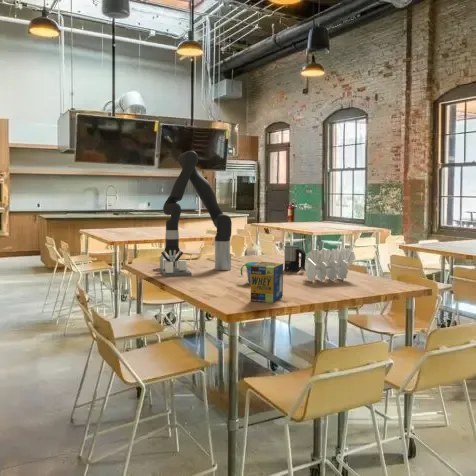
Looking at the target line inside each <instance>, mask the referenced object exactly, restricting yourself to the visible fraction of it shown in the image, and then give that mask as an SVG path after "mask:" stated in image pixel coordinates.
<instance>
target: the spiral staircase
mask: <svg viewBox="0 0 476 476" xmlns="http://www.w3.org/2000/svg"><path fill="white" fill-rule="evenodd" d="M307 253H308V254H307V255H306V260H305V270H304V271H305V275H306V278H307V279H308V280H309V281H310V282H311V281H315V280H316V277H317V278H318V279H319V280H320V281H321V280H322V281H325V280H326V276H327V278H328V280H329V279H330V280H331V281H332V280H334V281H335V280H336V279H337V278H338V279H341V281H344V279H347V278H348V277H347V276H348V275H347V274H349V271H348V267H350V266H351V262H353V261H355V260H356V255H355V252H354V251H352V250H351V249H350V247H347V248H345V247H342V249H339V248H338V247H336V248H331V249H330V248H325V247H322V249H321V250H319V248H316V249H315V248H312V249H311V250H310V251H308V252H307ZM337 276H338V277H337Z"/></svg>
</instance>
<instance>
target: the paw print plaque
mask: <svg viewBox="0 0 476 476" xmlns="http://www.w3.org/2000/svg"><path fill="white" fill-rule="evenodd" d="M165 255H166V257H167V258H168V259H169V255H168V254H167V253H166V254H165ZM177 256H178V255H175V259H176V257H177ZM163 259H165V258H164V256H163V255H162V254H161V255H160V257H159V270H161V269H163ZM174 268H178V261H175V267H174Z"/></svg>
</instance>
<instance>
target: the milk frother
mask: <svg viewBox="0 0 476 476" xmlns="http://www.w3.org/2000/svg"><path fill="white" fill-rule="evenodd" d="M283 247H284V265H283V272H284V271H285V272H299V271H300V270H301V269H305V263H306V259H307V255H306V251H305V250H304V249H303V248H300V245H293V244H291V245H283Z"/></svg>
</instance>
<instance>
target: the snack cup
mask: <svg viewBox="0 0 476 476" xmlns="http://www.w3.org/2000/svg"><path fill="white" fill-rule="evenodd" d="M258 263H260V261H251V262H245V264H243V265H242V266H241V267H240V276H241V277H242V276H243V275H244V274H243V269H244V267H246V276H247V282H248V283H249V284H251V266H253V265H255V264H258Z"/></svg>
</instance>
